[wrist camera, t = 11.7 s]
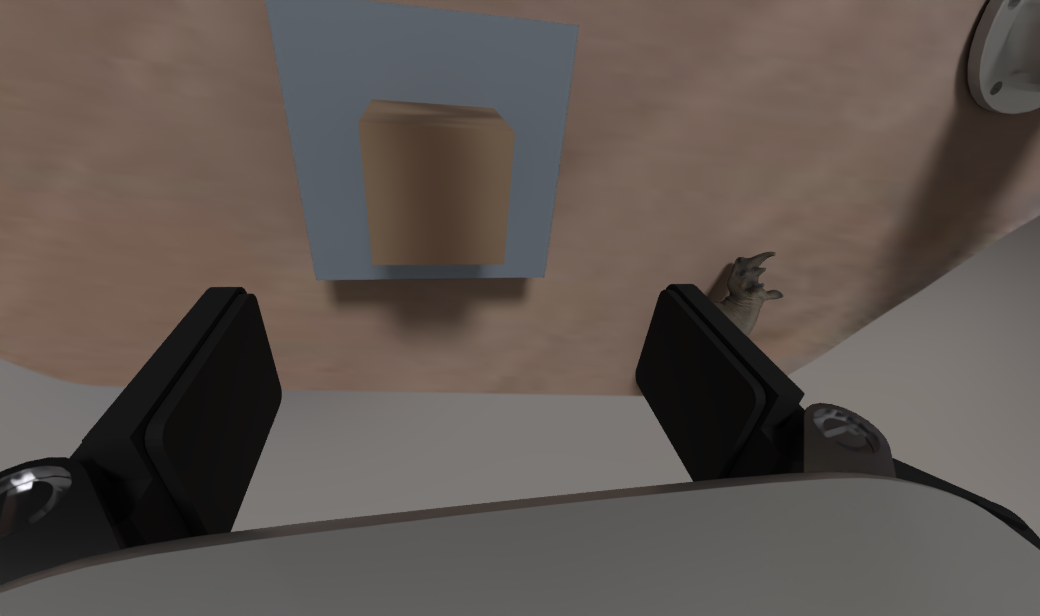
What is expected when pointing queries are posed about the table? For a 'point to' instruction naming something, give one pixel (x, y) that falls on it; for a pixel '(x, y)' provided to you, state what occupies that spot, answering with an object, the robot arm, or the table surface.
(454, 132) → the walnut cube
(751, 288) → the rhino figurine
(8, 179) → the table surface
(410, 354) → the table surface
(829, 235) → the table surface
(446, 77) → the pedestal
